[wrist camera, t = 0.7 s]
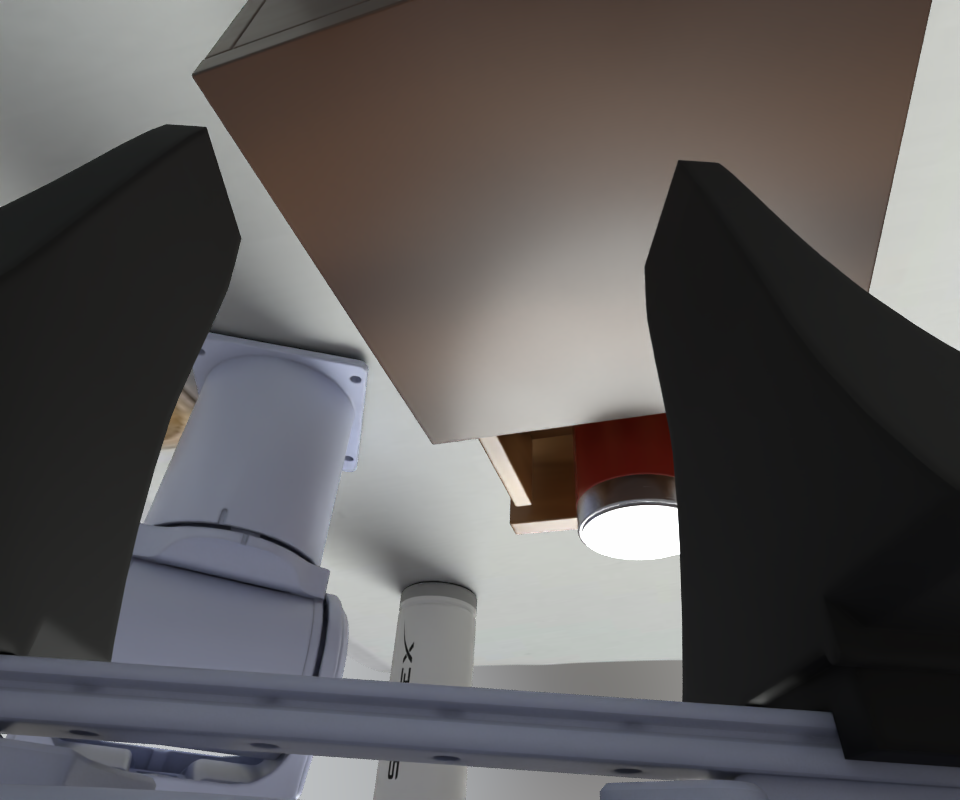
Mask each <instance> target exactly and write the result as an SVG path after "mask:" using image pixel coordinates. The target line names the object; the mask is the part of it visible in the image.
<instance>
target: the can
mask: <svg viewBox="0 0 960 800" xmlns="http://www.w3.org/2000/svg"><path fill="white" fill-rule="evenodd" d="M572 433H573V456H574V478H575V501H576V511H577V528H578V535H579V537H580V539H581V541H582V542H583V543H584V544H585V545H587V546H588V547H590V548H591V549H592V550H594V551H596V552H598V553H600V554H603V555H606V556H610V557H614V558H620V559H630V560H647V559H657V558H664V557H668V556H672V555H676V554H679V553H680V548H679V531H678V515H677V500H676V487H675V475H674V463H673V452H672V446H671V439H670V432H669V427H668V422H667V417H666V413H661V414H654V415H646V416H639V417H632V418H624V419H617V420H610V421H602V422H595V423H588V424H580V425H573V426H572Z"/></svg>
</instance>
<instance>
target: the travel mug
mask: <svg viewBox="0 0 960 800" xmlns="http://www.w3.org/2000/svg"><path fill="white" fill-rule="evenodd" d="M399 611H400V612H399V616H398V623H397V630H396V637H395V645H394V652H393V659H392V667H391V674H390V681H389V682H403V683H418V684H432V685H446V686H461V687H472V679H473V663H474V646H475V629H476V619H475V618H476V612H477V598H476V597H475V595H474V594H473V593H472V592H471V591H469V590H467V589H466V588H463V587H461V586H458V585H454V584H449V583H442V582H424V583H418V584H414V585H411V586H409V587H407V588H406V589H405V590H404V591H403V592H402V594H401V601H400V608H399ZM466 781H467V766H458V765H444V764H429V763H415V762H401V761H386V760H379V763H378V769H377V776H376V784H375V791H374V798H373V800H465V799H466Z"/></svg>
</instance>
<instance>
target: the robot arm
mask: <svg viewBox="0 0 960 800" xmlns="http://www.w3.org/2000/svg"><path fill="white" fill-rule="evenodd" d="M240 242H241V236H240V233H239V230H238V226H237V223H236V220H235V217H234V214H233V210H232V207H231V204H230V201H229V198H228V195H227V191H226V188H225V185H224V182H223V179H222V175H221V172H220V169H219V166H218V163H217V160H216V156H215V153H214V150H213V147H212V144H211V140H210V137H209V134H208V131H207V128H206V127H199V126H184V125H170V124H166V125H163V126H160V127H158V128H155V129H152V130H150V131H148V132H146V133H144V134H141V135H139V136H137V137H135V138H133V139H131V140H129V141H127V142H125V143H123V144H122V145H120V146H118V147H116V148H114V149H112V150H110V151H108V152H107V153H105V154H103V155H101V156H99V157H97V158H95V159H94V160H92V161H90V162H88V163H86V164H84V165H82V166H81V167H79V168H77V169H75V170H73V171H71V172H70V173H68V174H66V175H64V176H62V177H60V178H58V179H57V180H55V181H53V182H51V183H49V184H47V185H45V186H43V187H41V188H39V189H37V190H35V191H33V192H31V193H29V194H27V195H25V196H23V197H21V198H19V199H17V200H15V201H13V202H11V203H9V204H7V205H5V206H3V207H1V208H0V800H296V799H297V798H298V797H299V796H300V795H301V793H302V790H303V787H304V783H305V780H306V777H307V773H308V770H309V767H310V764H311V761H312V758H313V755H314V756H329V757H343V758H358V759H372V760H386V761H401V762H415V763H429V764H444V765H458V766H473V767H487V768H501V769H502V768H503V769H516V770H531V771H545V772H559V773H560V772H561V773H573V774H588V775H602V776H603V775H604V776H616V777H631V778H646V779H661V780H674V781H654V782H624V783H623V782H622V783H607V784H606V785H605V786H604V787H603V788H602V789H601V791H600V800H960V351H958V350H956V349H955V348H953V347H951V346H949V345H947V344H946V343H944V342H942V341H941V340H939V339H937V338H936V337H934V336H932V335H931V334H929V333H928V332H926V331H924V330H923V329H921V328H919V327H918V326H916V325H915V324H913V323H912V322H910V321H909V320H907V319H906V318H904V317H903V316H902V315H900V314H899V313H897V312H896V311H894V310H893V309H891V308H890V307H888V306H887V305H885V304H884V303H882V302H881V301H879V300H878V299H876V298H875V297H874V296H872V295H871V294H870V293H868V292H867V291H865V290H864V289H863V288H861V287H860V286H859V285H857V284H856V283H855V282H853V281H852V280H851V279H850V278H849V277H847V276H846V275H845V274H844V273H842V272H841V271H840V270H839V269H837V268H836V267H835V266H834V265H832V264H831V263H830V262H829V261H827V260H826V259H825V258H824V257H823V256H821V255H820V254H819V253H818V252H817V251H816V250H814V249H813V248H812V247H811V246H810V245H809V244H808V243H806V242H805V241H804V240H803V239H802V238H801V237H800V236H799V235H797V234H796V233H795V232H794V231H793V230H792V229H791V228H790V227H789V226H788V225H787V224H785V223H784V222H783V221H782V220H781V219H780V218H779V217H778V216H777V215H776V214H775V213H774V212H773V211H772V210H771V209H769V208H768V207H767V206H766V205H765V204H764V203H763V202H762V201H761V200H760V199H759V198H758V197H757V196H756V195H755V194H754V193H753V192H752V191H751V190H750V189H748V188H747V187H746V186H745V185H744V184H743V183H742V182H741V181H740V180H739V179H738V178H737V177H735V176H734V175H733V174H732V173H731V172H730V171H729V170H727V169H726V168H725V167H724V166H722V165H721V164H720V163H716V162H702V161H687V160H678V162H677V166H676V169H675V172H674V175H673V178H672V181H671V184H670V188H669V191H668V194H667V197H666V200H665V203H664V206H663V210H662V213H661V216H660V219H659V222H658V225H657V228H656V232H655V235H654V238H653V241H652V244H651V247H650V250H649V254H648V257H647V260H646V263H645V266H644V270H645V296H646V312H647V321H648V327H649V332H650V337H651V343H652V348H653V353H654V358H655V363H656V368H657V373H658V378H659V382H660V387H661V392H662V397H663V402H664V407H665V412H666V417H667V422H668V427H669V432H670V439H671V446H672V452H673V463H674V475H675V487H676V500H677V515H678V531H679V548H680V570H681V599H682V657H683V700H682V702H675V701H662V700H647V699H633V698H619V697H604V696H590V695H589V696H588V695H576V694H561V693H546V692H533V691H518V690H504V689H489V688H475V687H461V686H446V685H432V684H418V683H403V682H389V681H374V680H360V679H346V678H342V676H343V672H344V667H345V662H346V655H347V648H348V634H349V629H348V620H347V616H346V614H345V612H344V610H343V608H342V604H341V601H340V599H339V598H338V597H337V596H336V595H333V594H327V593H326V589H327V584H328V579H329V575H330V571H329V570H328V569H325V568H321V567H320V565H321V560H322V556H323V552H324V547H325V543H326V538H327V534H328V530H329V525H330V521H331V516H332V512H333V508H334V503H335V499H336V494H337V490H338V486H339V481H340V477H341V472H342V471H345V472H353V471H355V470H356V469H357V464H358V456H359V447H360V438H361V430H362V421H363V412H364V404H365V395H366V386H367V377H368V365H367V364H366V363H365V362H363V361H361V360H357V359H351V358H346V357H341V356H335V355H330V354H324V353H319V352H313V351H308V350H302V349H297V348H291V347H286V346H281V345H275V344H270V343H264V342H259V341H253V340H248V339H242V338H237V337H231V336H226V335H221V334H215V333H210V332H209V331H210V329H211V326H212V324H213V322H214V320H215V317H216V315H217V313H218V311H219V308H220V306H221V304H222V302H223V299H224V297H225V295H226V292H227V290H228V287H229V283H230V280H231V276H232V273H233V270H234V266H235V262H236V258H237V254H238V250H239V246H240ZM192 369H193V373H194V377H195V381H196V386H197V390H198V394H199V396H198V399H197V401H196V403H195V406H194V408H193V410H192V413H191V415H190V417H189V419H188V422H187V424H186V426H185V429H184V431H183V433H182V436H181V438H180V440H179V443H178V445H177V447H176V450H175V452H174V454H173V456H172V459H171V461H170V463H169V466H168V468H167V470H166V473H165V475H164V477H163V480H162V482H161V484H160V487H159V489H158V491H157V493H156V496H155V498H154V500H153V503H152V505H151V507H150V510H149V512H148V514H147V517H146V519H145V521H144V524H143V523H140V520H141V516H142V513H143V509H144V506H145V502H146V498H147V495H148V491H149V488H150V484H151V480H152V477H153V473H154V469H155V466H156V463H157V460H158V457H159V453H160V450H161V447H162V444H163V441H164V438H165V434H166V431H167V428H168V425H169V422H170V419H171V416H172V413H173V411H174V408H175V406H176V403H177V401H178V398H179V396H180V394H181V391H182V389H183V387H184V385H185V383H186V381H187V378H188V376H189V374H190V372H191V370H192ZM357 376H358V377H357ZM1 734H7V737H6V738H3V737H2V735H1ZM107 741H114V742H107ZM115 742H128V743H142V744H156V745H165V746H172V747H180V748H188V749H195V750H202V751H210V752H217V753H224V754H233V755H238V756H223V757H220V756H213V755H205V754H198V753H190V752H183V751H175V750H168V749H160V748H153V747H145V746H138V745H130V744H122V743H115Z"/></svg>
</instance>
